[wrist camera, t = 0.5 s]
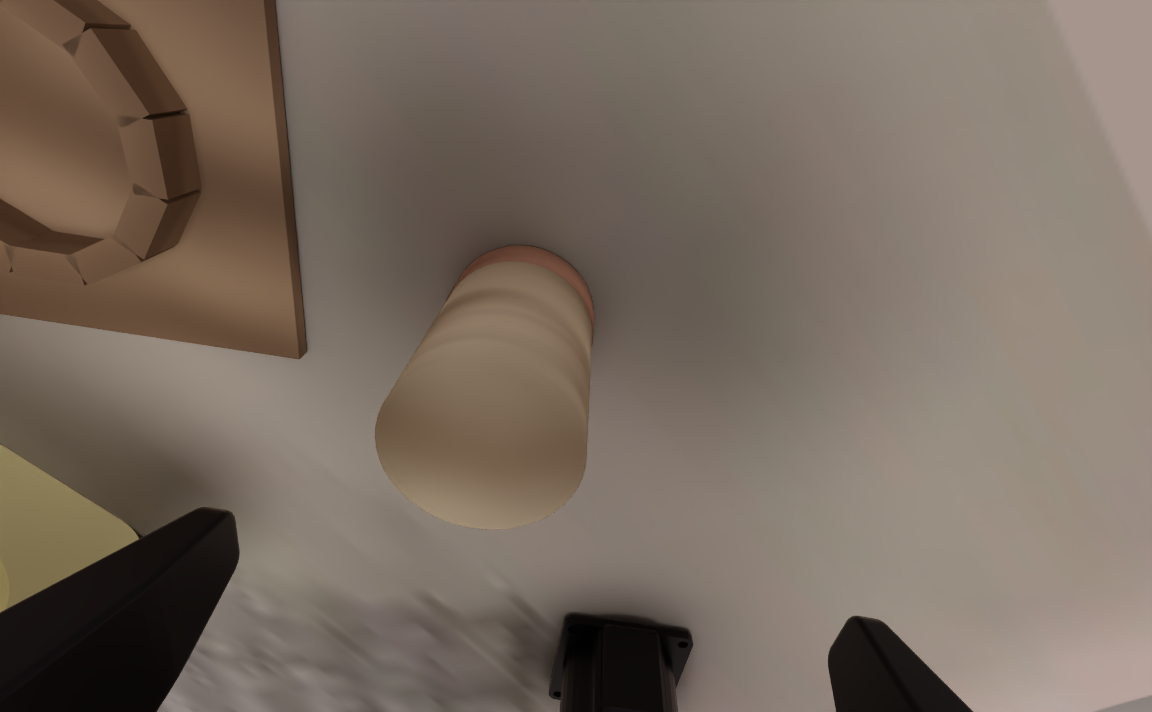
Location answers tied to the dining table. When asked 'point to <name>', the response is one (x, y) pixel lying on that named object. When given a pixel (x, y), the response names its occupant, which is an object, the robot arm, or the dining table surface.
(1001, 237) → the dining table surface
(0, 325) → the dining table surface
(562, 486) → the beige rounded peg
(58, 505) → the slatted curved stool
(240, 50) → the walnut socket
